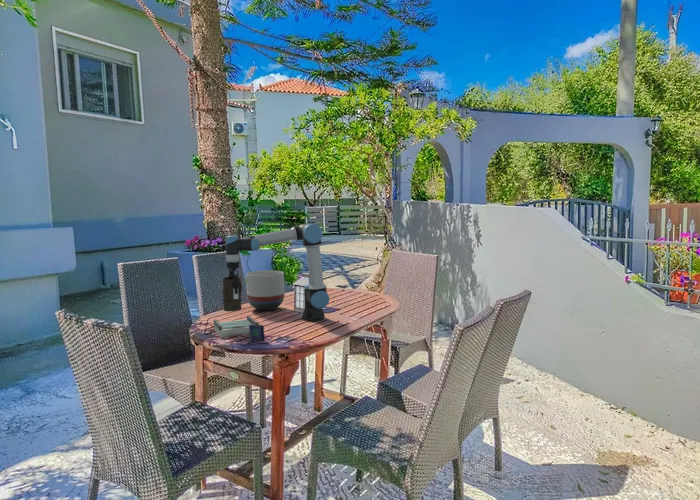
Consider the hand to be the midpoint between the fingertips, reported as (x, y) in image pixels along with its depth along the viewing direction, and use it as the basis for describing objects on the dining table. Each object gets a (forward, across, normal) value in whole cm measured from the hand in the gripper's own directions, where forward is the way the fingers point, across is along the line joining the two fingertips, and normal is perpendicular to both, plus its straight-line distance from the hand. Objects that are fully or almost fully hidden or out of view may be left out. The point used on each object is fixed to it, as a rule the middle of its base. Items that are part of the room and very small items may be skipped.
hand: (233, 297), depth 294 cm
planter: (+21, -48, +33) cm, 62 cm away
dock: (+21, 0, 0) cm, 21 cm away
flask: (+21, +25, +7) cm, 34 cm away
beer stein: (+8, -2, 0) cm, 8 cm away
